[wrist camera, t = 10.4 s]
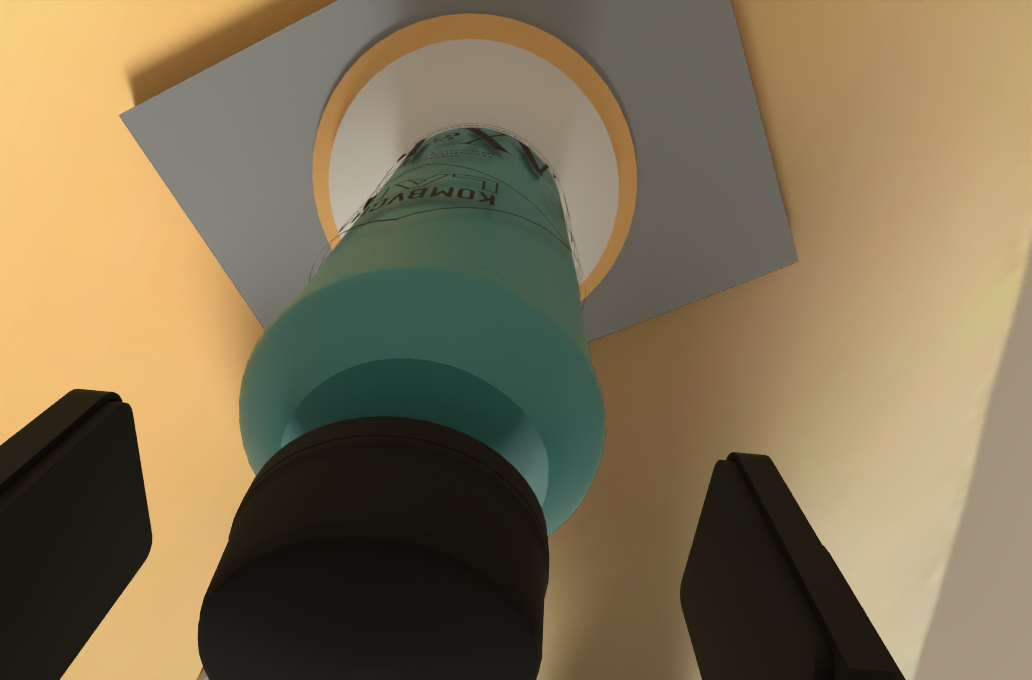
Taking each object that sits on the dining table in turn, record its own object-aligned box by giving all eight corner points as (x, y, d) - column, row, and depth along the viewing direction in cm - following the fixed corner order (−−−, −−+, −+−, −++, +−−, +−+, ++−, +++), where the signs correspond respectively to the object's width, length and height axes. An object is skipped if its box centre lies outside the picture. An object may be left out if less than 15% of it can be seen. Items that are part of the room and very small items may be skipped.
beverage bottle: (590, 236, 25) (769, 757, 8) (444, 309, 27) (304, 896, 9) (511, 77, 23) (499, 300, 5) (354, 167, 24) (-95, 595, 6)
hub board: (787, 251, 28) (808, 270, 26) (344, 424, 32) (333, 450, 30) (675, -172, 22) (691, -191, 20) (135, 110, 26) (103, 119, 24)
